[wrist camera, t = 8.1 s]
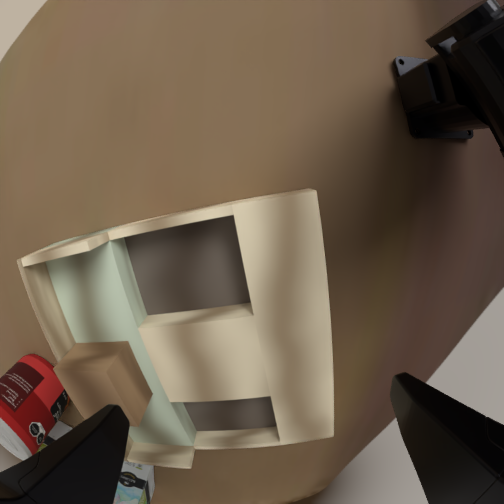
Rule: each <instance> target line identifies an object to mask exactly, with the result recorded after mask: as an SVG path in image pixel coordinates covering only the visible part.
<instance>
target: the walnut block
mask: <svg viewBox="0 0 504 504" xmlns="http://www.w3.org/2000/svg"><path fill="white" fill-rule="evenodd" d="M53 370H54V372H55V373H56V375H57V377H58V379H59V380H60V382H61V384H62V385H63V387H64V389H65V390H66V392H67V394H68V395H69V397H70V398H71V400H72V401H73V403H74V405H75V406H76V408H77V409H78V411H79V412H80V413H81V415H82V416H83V418H84V419H85V420H86V419H88V418H89V417H90V416H92V415H93V414H95V413H96V412H98V411H99V410H100V409H102V408H103V407H105V406H106V405H108V404H117V405H119V406H120V407H121V408H122V410H123V411H124V413H125V415H126V416H127V418H128V419H129V422H130V426H133V427H139V425H140V422H141V420H142V418H143V415H144V413H145V411H146V409H147V406H148V404H149V402H150V399H151V397H152V395H153V393H152V391H151V389H150V387H149V385H148V383H147V381H146V379H145V377H144V375H143V373H142V371H141V369H140V366H139V364H138V362H137V360H136V358H135V356H134V353H133V351H132V349H131V346H130V344H129V342H128V341H116V342H89V343H76V344H75V345H74V346H73V348H72V349H71V350H70V351H69V352H68V353H67V354H66V355H65V356H64V357H63V358H62V359H61V360H60V362H59V363H58V364H57V365H56V366H55V367H54V368H53Z"/></svg>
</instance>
